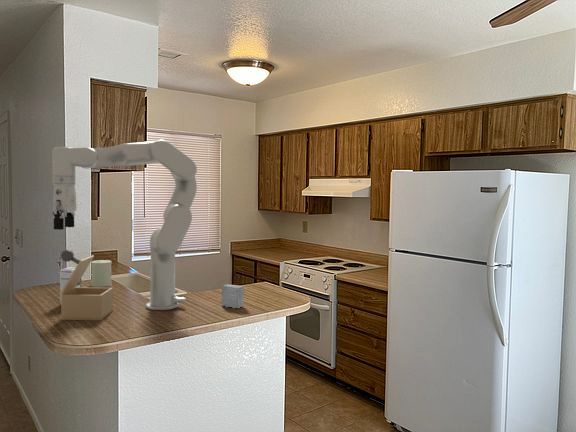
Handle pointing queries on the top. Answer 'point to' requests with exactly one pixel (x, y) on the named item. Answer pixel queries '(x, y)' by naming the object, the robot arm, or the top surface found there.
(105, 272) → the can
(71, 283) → the lid
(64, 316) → the wooden box
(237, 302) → the medicine box
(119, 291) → the top surface
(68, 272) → the syrup box
